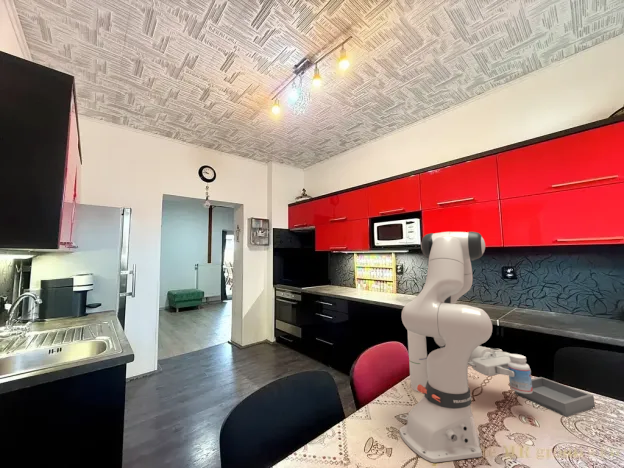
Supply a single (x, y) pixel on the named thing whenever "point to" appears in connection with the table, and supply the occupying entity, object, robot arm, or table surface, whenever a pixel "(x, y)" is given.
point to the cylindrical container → (417, 360)
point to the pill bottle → (520, 374)
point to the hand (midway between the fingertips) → (522, 372)
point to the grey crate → (558, 397)
